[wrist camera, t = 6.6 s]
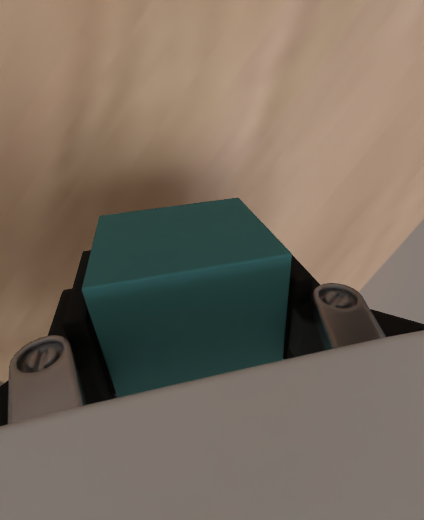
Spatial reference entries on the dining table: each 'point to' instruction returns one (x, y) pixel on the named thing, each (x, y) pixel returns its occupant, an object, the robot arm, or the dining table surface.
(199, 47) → the dining table surface
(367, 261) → the dining table surface
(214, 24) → the dining table surface
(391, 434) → the robot arm
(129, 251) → the pad
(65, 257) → the dining table surface
